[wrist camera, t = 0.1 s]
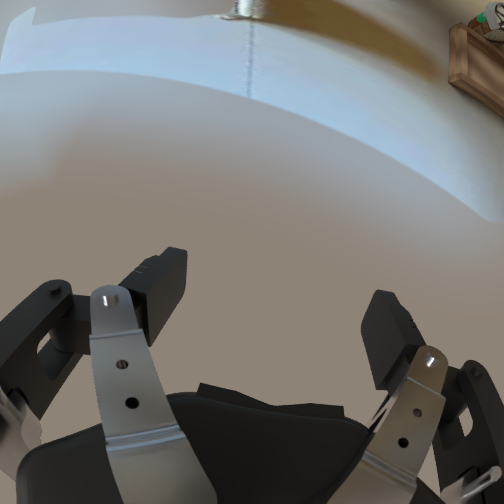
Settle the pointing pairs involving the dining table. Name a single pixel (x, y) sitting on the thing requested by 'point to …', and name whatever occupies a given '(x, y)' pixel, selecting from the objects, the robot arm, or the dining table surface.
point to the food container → (490, 23)
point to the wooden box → (477, 67)
